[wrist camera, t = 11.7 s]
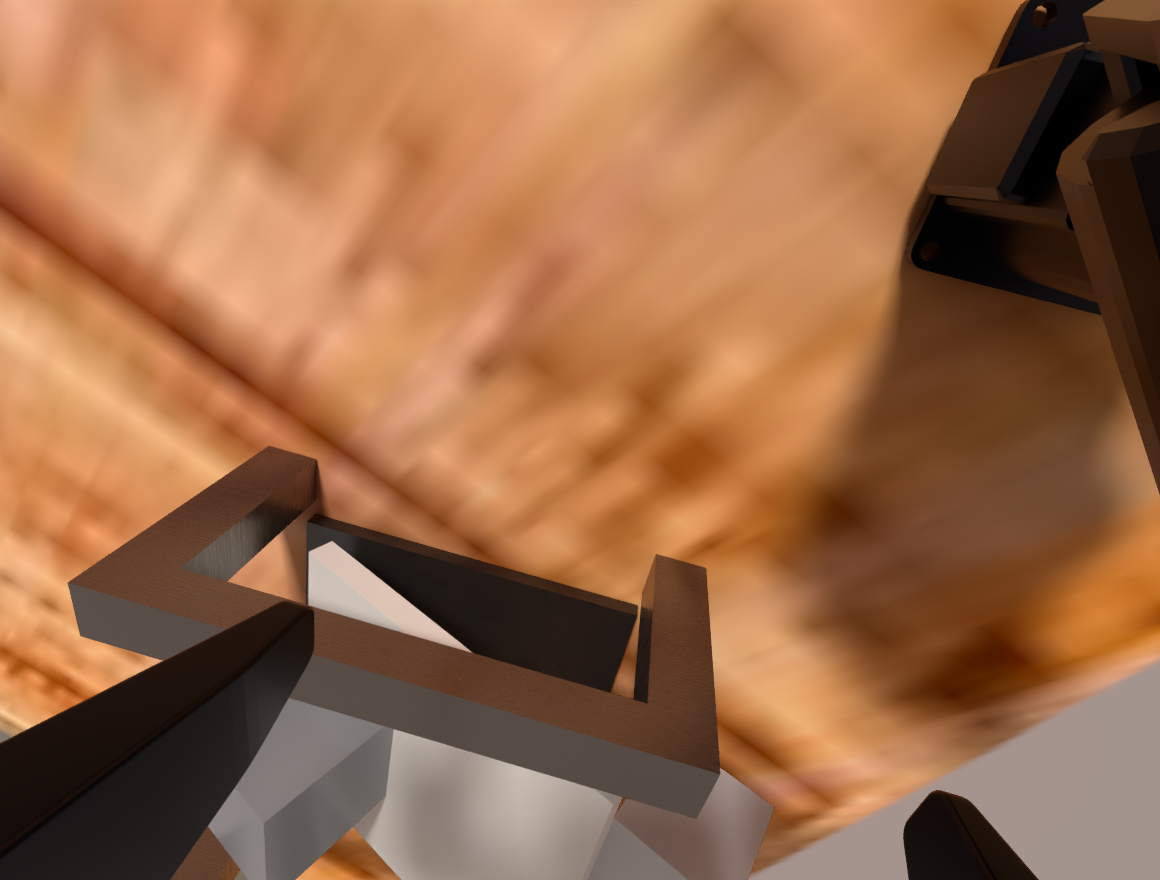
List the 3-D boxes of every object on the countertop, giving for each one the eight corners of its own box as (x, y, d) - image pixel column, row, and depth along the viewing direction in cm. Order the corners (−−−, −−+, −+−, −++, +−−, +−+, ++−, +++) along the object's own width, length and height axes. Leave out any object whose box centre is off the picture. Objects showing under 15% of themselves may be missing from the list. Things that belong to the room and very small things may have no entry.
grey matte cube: (395, 718, 22) (263, 823, 18) (385, 796, 24) (267, 905, 20) (314, 642, 24) (180, 721, 20) (312, 720, 26) (192, 805, 22)
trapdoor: (798, 770, 18) (746, 915, 14) (670, 971, 25) (610, 1111, 21) (411, 505, 26) (308, 551, 22) (389, 710, 32) (306, 775, 28)
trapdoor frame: (706, 568, 22) (720, 774, 15) (593, 841, 31) (566, 1060, 23) (268, 445, 23) (67, 582, 15) (276, 745, 32) (149, 928, 24)
